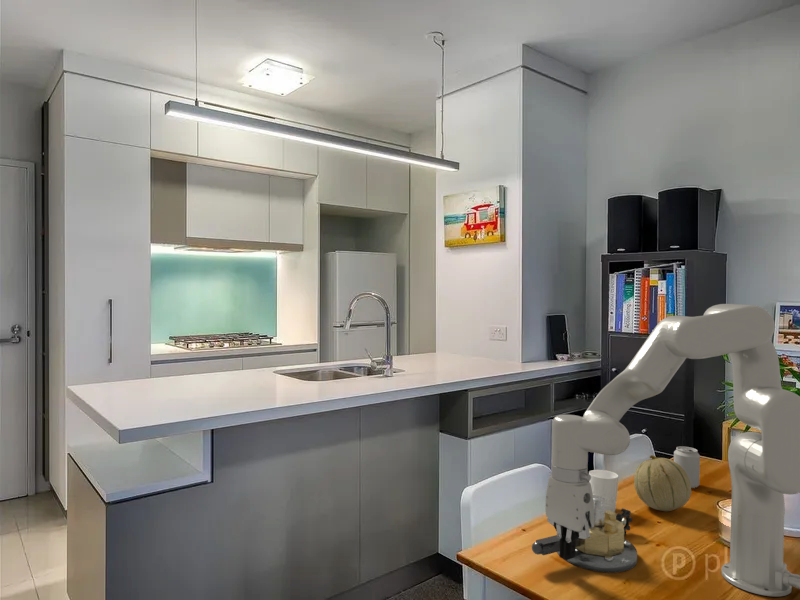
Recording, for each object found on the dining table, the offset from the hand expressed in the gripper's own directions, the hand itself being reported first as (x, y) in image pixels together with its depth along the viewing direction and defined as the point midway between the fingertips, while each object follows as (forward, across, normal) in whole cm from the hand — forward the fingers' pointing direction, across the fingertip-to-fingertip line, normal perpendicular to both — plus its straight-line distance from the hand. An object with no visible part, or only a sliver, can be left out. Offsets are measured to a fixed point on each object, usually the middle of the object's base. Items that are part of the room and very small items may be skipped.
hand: (567, 557), depth 119 cm
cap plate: (+4, +3, -14) cm, 14 cm away
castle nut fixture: (+1, +4, -7) cm, 8 cm away
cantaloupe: (+4, +11, -53) cm, 54 cm away
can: (+4, +18, -79) cm, 81 cm away
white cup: (+4, +19, -38) cm, 43 cm away
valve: (+4, +12, -28) cm, 31 cm away
